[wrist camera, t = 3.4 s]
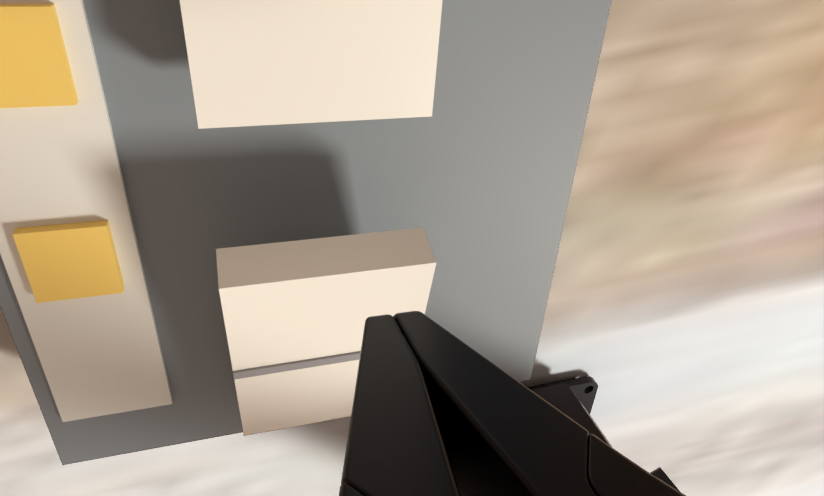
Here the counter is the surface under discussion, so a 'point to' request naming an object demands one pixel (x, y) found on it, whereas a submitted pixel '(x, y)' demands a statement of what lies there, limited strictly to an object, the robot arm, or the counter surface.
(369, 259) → the block
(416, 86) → the panel
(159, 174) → the console
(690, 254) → the counter surface
